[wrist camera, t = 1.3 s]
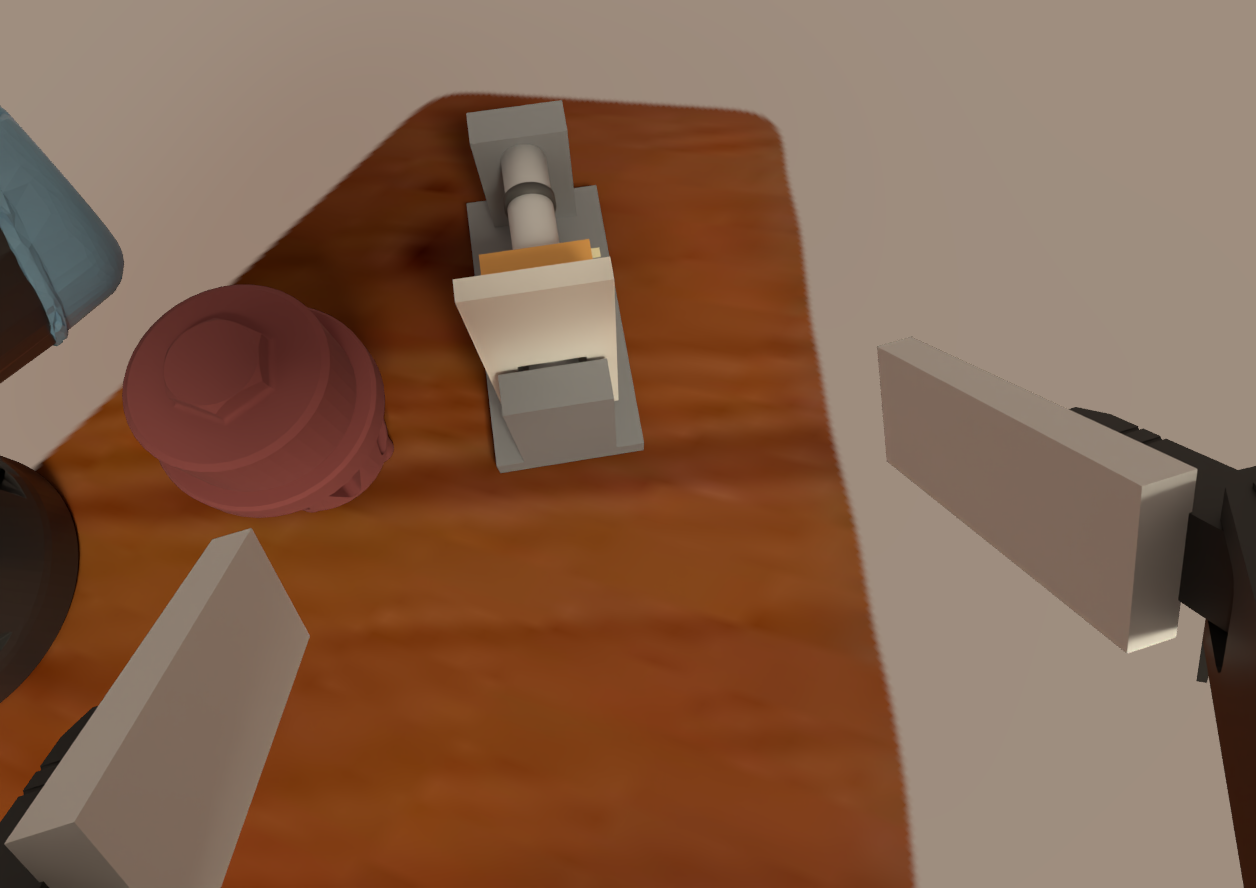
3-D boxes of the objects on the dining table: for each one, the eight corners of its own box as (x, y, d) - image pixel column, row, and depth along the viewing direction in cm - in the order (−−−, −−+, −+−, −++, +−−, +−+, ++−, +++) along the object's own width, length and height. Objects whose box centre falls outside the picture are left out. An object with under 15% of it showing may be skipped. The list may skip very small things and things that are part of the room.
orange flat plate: (597, 315, 38) (593, 260, 33) (500, 330, 38) (481, 276, 33) (594, 295, 38) (589, 238, 33) (498, 310, 38) (478, 254, 33)
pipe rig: (643, 449, 40) (646, 393, 32) (500, 472, 39) (468, 421, 32) (596, 197, 45) (590, 96, 37) (470, 215, 45) (437, 116, 37)
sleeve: (618, 400, 38) (614, 279, 27) (507, 417, 38) (454, 302, 26) (606, 334, 40) (598, 191, 28) (499, 350, 39) (445, 213, 28)
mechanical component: (306, 584, 37) (209, 447, 40) (460, 465, 39) (359, 341, 42) (159, 539, 26) (35, 349, 28) (389, 374, 28) (255, 210, 30)
